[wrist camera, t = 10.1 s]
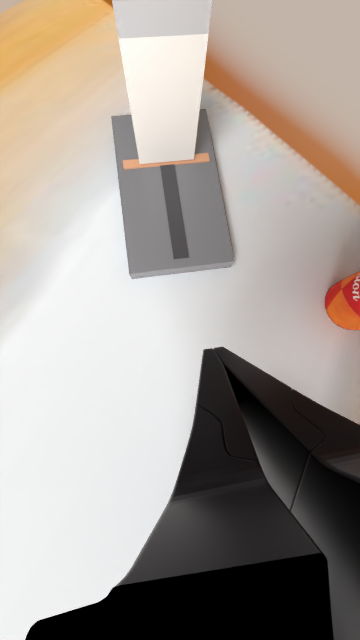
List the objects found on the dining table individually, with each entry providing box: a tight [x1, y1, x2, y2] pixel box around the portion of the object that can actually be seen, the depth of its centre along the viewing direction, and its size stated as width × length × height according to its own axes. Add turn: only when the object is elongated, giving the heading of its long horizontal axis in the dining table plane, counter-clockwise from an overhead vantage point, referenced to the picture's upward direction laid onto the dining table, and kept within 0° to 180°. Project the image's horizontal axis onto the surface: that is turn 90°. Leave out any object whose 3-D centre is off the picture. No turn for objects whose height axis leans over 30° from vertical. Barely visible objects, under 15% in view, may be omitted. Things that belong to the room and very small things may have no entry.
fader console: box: [111, 109, 234, 279], centre depth 24 cm, size 19×11×2 cm, turn 8°
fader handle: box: [112, 0, 212, 164], centre depth 18 cm, size 3×6×11 cm, turn 98°
